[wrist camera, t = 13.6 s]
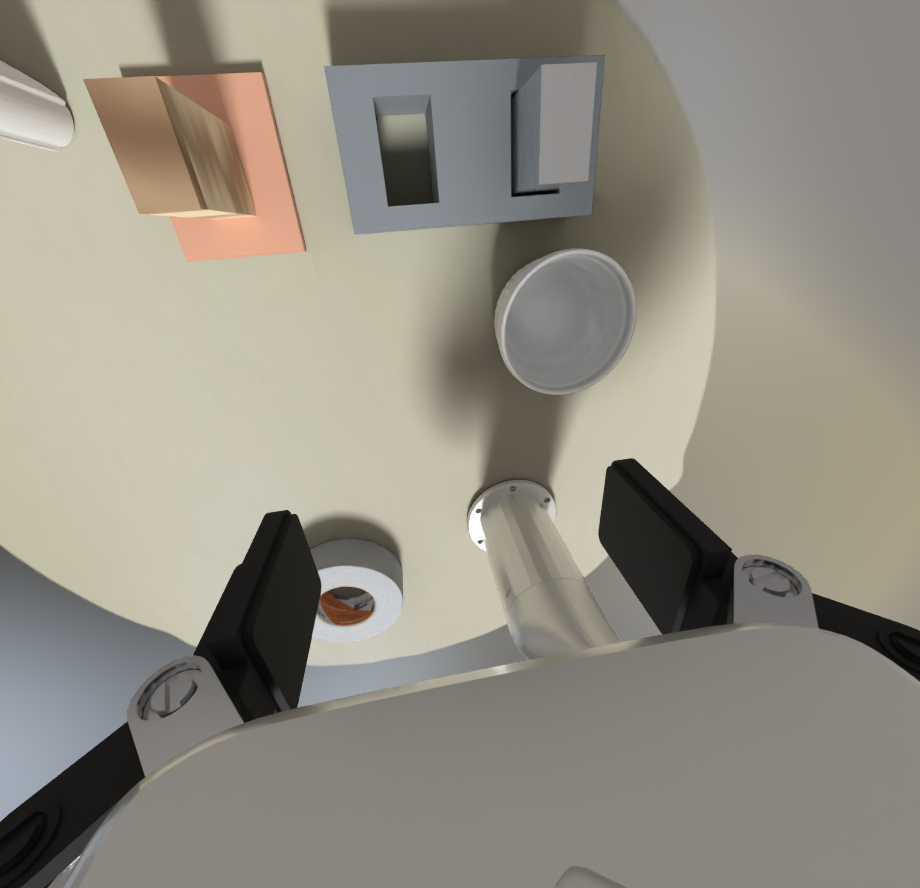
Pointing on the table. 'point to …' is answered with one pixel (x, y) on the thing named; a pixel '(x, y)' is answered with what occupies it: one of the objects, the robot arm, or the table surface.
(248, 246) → the mat
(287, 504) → the table surface
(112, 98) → the beech plug
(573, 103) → the steel plug
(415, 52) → the table surface
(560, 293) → the ramekin
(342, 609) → the tape roll
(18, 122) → the photo printer
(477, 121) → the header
